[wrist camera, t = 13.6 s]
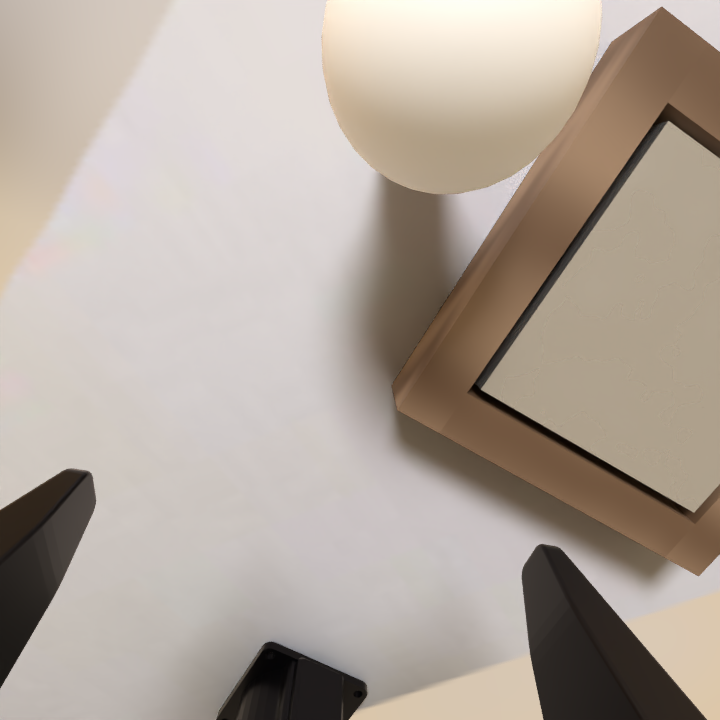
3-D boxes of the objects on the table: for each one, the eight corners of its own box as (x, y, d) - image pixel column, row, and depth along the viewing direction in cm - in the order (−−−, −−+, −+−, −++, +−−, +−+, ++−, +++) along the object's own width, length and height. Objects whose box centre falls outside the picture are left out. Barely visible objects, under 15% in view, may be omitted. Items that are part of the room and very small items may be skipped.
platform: (664, 487, 22) (693, 512, 20) (468, 373, 20) (480, 389, 18) (842, 281, 19) (895, 288, 18) (634, 131, 18) (668, 120, 16)
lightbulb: (466, 11, 17) (645, -315, 7) (502, 178, 19) (693, 120, 9) (311, 67, 18) (257, -161, 7) (360, 225, 20) (374, 227, 9)
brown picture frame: (657, 533, 24) (698, 576, 21) (391, 385, 22) (397, 410, 19) (900, 259, 20) (991, 265, 17) (611, 41, 18) (661, 6, 15)
